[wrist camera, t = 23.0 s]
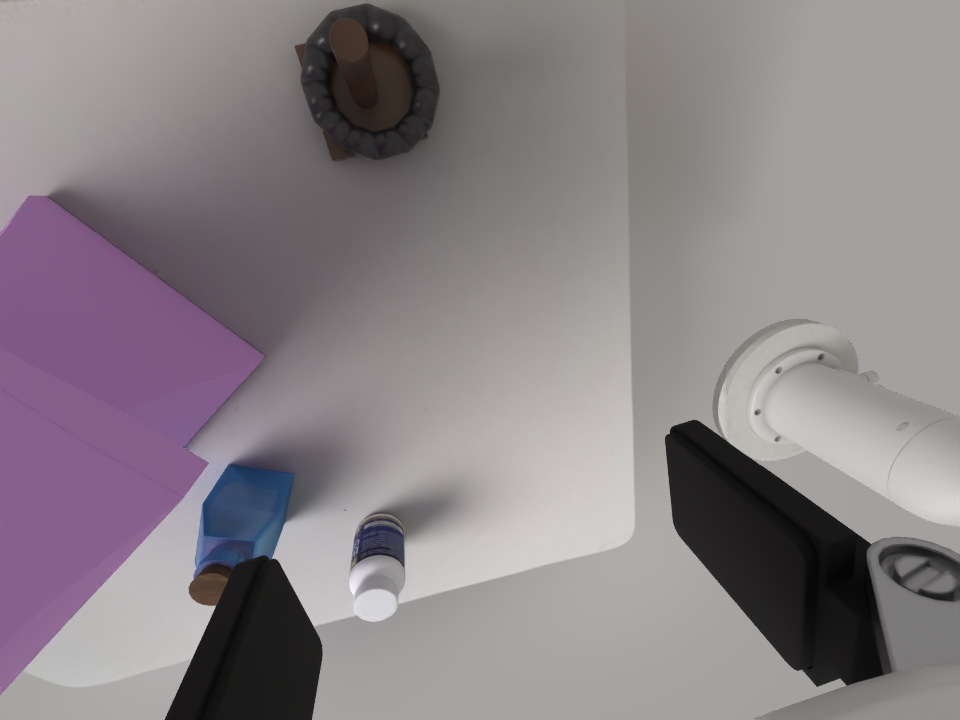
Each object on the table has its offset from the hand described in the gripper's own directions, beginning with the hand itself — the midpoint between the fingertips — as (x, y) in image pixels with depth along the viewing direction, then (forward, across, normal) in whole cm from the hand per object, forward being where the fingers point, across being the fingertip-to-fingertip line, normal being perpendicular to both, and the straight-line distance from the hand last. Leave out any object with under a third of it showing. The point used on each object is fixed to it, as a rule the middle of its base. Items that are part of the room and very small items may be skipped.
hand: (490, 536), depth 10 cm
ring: (+31, -1, -16) cm, 35 cm away
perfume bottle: (+34, +22, +16) cm, 43 cm away
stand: (+33, 0, -16) cm, 37 cm away
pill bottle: (+34, +12, +25) cm, 43 cm away
